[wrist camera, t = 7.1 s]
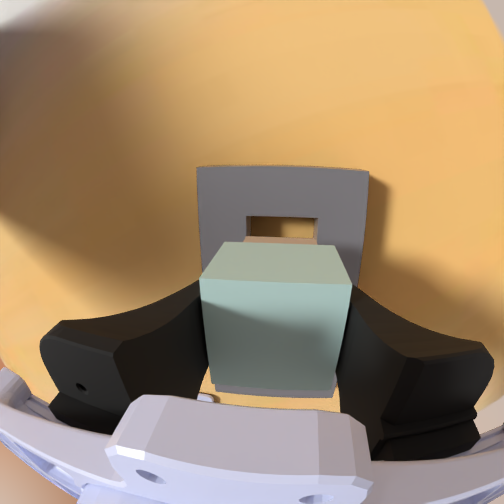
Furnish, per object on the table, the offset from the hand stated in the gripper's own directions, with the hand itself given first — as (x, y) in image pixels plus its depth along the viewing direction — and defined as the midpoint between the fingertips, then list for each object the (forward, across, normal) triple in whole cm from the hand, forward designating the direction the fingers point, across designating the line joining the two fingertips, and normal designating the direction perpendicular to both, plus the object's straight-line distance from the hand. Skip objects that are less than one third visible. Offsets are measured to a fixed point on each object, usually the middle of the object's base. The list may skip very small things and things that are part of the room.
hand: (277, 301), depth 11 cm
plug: (+3, 0, 0) cm, 3 cm away
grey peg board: (+8, 0, +4) cm, 9 cm away
